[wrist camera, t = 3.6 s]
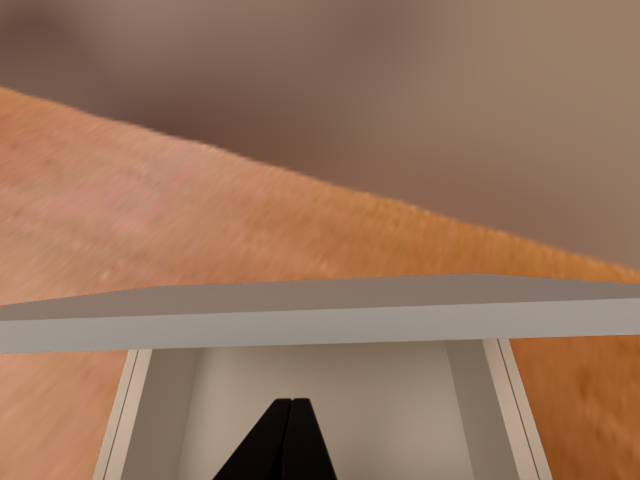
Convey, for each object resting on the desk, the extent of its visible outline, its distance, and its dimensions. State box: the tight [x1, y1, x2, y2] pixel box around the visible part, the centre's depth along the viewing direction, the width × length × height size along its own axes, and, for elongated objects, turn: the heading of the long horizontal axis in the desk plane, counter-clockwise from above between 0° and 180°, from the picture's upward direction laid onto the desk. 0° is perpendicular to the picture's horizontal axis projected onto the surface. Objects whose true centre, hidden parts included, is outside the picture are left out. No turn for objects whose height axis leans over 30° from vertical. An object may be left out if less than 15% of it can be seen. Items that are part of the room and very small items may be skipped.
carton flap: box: [0, 273, 640, 354], centre depth 9 cm, size 9×14×1 cm
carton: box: [92, 338, 553, 480], centre depth 13 cm, size 11×16×5 cm
